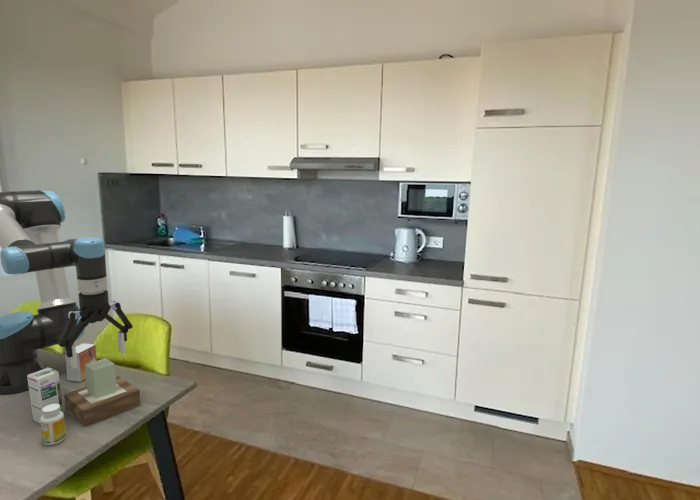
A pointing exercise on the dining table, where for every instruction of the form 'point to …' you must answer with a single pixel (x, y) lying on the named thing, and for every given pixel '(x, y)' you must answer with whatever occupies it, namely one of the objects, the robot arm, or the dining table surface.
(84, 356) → the small box
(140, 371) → the dining table surface
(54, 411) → the supplement bottle
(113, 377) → the sage block
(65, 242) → the robot arm
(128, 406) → the walnut base
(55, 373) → the syrup box
